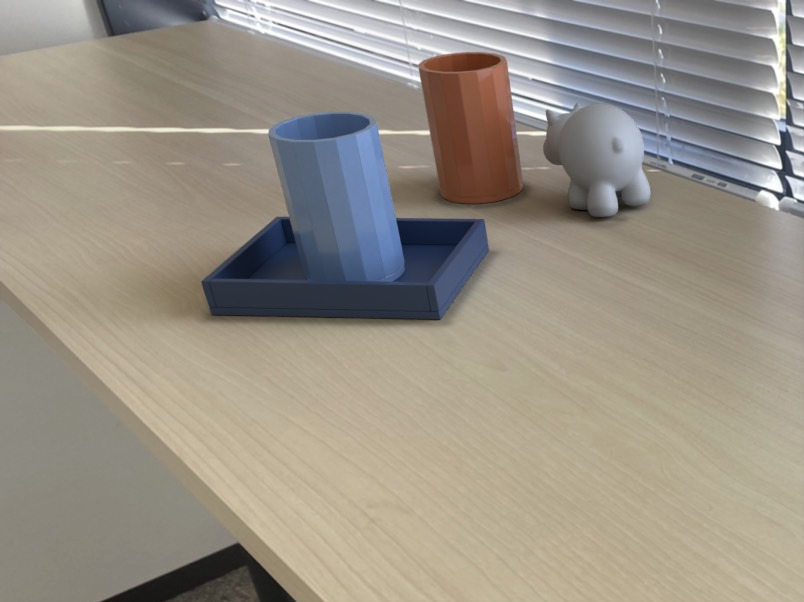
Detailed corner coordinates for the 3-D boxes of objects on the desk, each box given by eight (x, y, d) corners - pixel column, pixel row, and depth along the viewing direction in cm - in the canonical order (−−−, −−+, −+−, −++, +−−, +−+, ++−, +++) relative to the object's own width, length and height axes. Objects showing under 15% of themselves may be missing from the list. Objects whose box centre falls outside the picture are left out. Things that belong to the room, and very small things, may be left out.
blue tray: (210, 315, 84) (200, 281, 83) (284, 247, 95) (276, 216, 93) (440, 319, 83) (434, 285, 81) (489, 250, 93) (484, 218, 92)
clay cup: (430, 203, 103) (406, 73, 96) (454, 176, 109) (433, 51, 102) (511, 204, 102) (493, 73, 96) (531, 177, 108) (515, 51, 102)
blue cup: (290, 292, 86) (250, 141, 79) (327, 254, 92) (293, 111, 85) (386, 293, 85) (354, 142, 79) (418, 255, 91) (390, 111, 85)
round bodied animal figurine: (589, 174, 108) (580, 79, 103) (664, 207, 101) (658, 105, 96) (522, 191, 105) (509, 93, 100) (594, 227, 97) (584, 123, 92)
